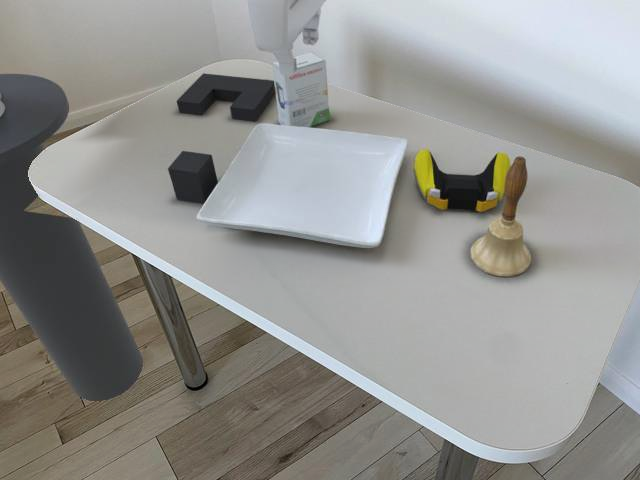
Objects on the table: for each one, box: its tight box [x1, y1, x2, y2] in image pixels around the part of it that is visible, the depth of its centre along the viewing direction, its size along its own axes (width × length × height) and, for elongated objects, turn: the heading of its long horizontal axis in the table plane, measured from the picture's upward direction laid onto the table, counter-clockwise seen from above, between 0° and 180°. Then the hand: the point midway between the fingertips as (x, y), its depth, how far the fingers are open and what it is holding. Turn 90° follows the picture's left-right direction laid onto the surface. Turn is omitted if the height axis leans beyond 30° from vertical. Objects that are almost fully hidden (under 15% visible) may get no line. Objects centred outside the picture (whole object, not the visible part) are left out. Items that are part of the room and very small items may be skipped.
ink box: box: [271, 52, 330, 128], centre depth 100 cm, size 9×5×12 cm, turn 123°
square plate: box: [196, 122, 409, 249], centre depth 87 cm, size 27×27×4 cm
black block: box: [167, 150, 219, 205], centre depth 87 cm, size 5×5×6 cm
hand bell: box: [469, 156, 532, 278], centre depth 72 cm, size 8×8×16 cm
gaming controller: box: [413, 148, 512, 213], centre depth 86 cm, size 15×6×10 cm
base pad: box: [176, 72, 276, 122], centre depth 110 cm, size 16×12×2 cm
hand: (300, 57), depth 72 cm, fingers open, 8 cm apart
